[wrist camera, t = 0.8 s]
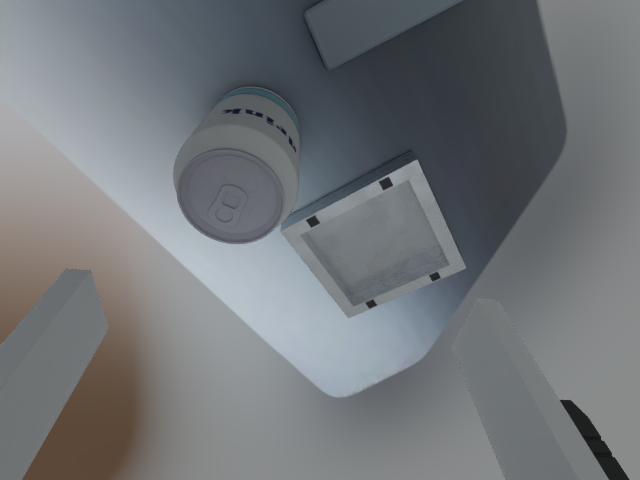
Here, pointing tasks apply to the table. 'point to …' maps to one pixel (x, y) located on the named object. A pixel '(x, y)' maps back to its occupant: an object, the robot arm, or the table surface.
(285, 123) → the beverage can
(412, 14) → the bracket
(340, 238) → the rail plate
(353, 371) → the table surface
